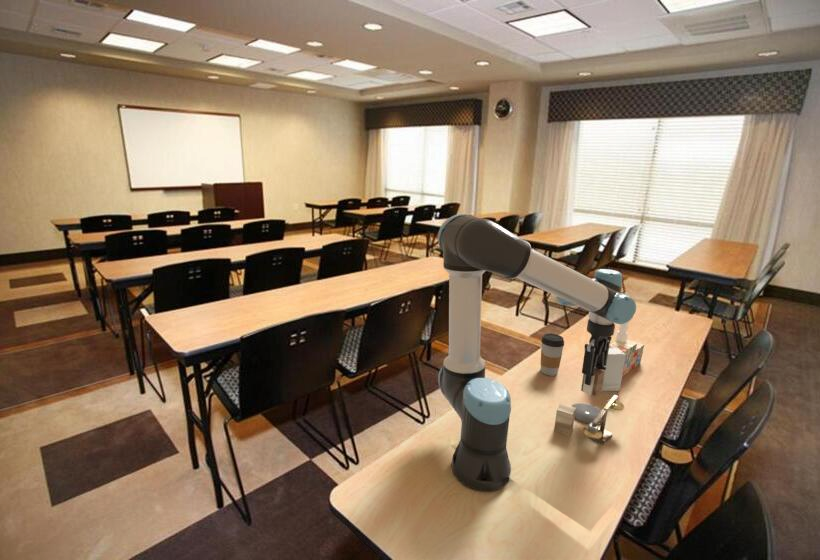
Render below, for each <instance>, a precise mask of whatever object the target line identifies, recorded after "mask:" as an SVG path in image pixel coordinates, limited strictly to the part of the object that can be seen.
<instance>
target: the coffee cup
mask: <svg viewBox="0 0 820 560" xmlns="http://www.w3.org/2000/svg"><path fill="white" fill-rule="evenodd" d="M540 342H541V350H540V372H541V373H542V374H543V375H546V376H551V377H552V376H553V377H554V376H557V375H558V373H559V368H560V365H561V360H562V356H563V349H564V346H565V341H564V337H563V336H561V335H559V334H555V333H545V334H543V336H542V338H541V341H540Z"/></svg>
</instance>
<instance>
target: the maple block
mask: <svg viewBox="0 0 820 560" xmlns="http://www.w3.org/2000/svg"><path fill="white" fill-rule="evenodd" d="M575 412H576V408H575V407H572V405H568V404H565V403H562V402H560V403H559V405H558V407H557V409H556V413H555V418H554V419H555V420H554V427H553V430H554V431H556V432H557V433H560V434H563V435H567V436H569V437H570V436H571V433H572V431H573V429H574V423H575Z"/></svg>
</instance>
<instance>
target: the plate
mask: <svg viewBox="0 0 820 560" xmlns="http://www.w3.org/2000/svg"><path fill="white" fill-rule="evenodd" d="M571 406H572V407H575V408H576V412H575V418H574V420H577V421H578V422H581V423H583V424H587V425H589V424H591V423H592V422H593V421H594V419H595V418H596V417H597V416H598V414H599V413H600V412H601V411H602V409H600V408H598V407H596V406H594V405H591V404H587V403H579V402H578V403H574V404H572V405H571ZM599 424H600V425H601V420H600V421H599V423H598V424H597V425H599Z"/></svg>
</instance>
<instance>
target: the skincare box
mask: <svg viewBox="0 0 820 560" xmlns="http://www.w3.org/2000/svg"><path fill="white" fill-rule="evenodd" d="M625 356H626V354H625V353H623V352H622V351H621V350H620V349H619V348H609V351H608V357H607V363H606V366H604V367H606V370H602V371H605V373H604V379H603V386H602V392H620V391H621V387H622V386H621V385H622V384H621V383H622V379H623V377H622V374H623V368H624V362H625ZM595 368H596V367H595Z"/></svg>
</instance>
